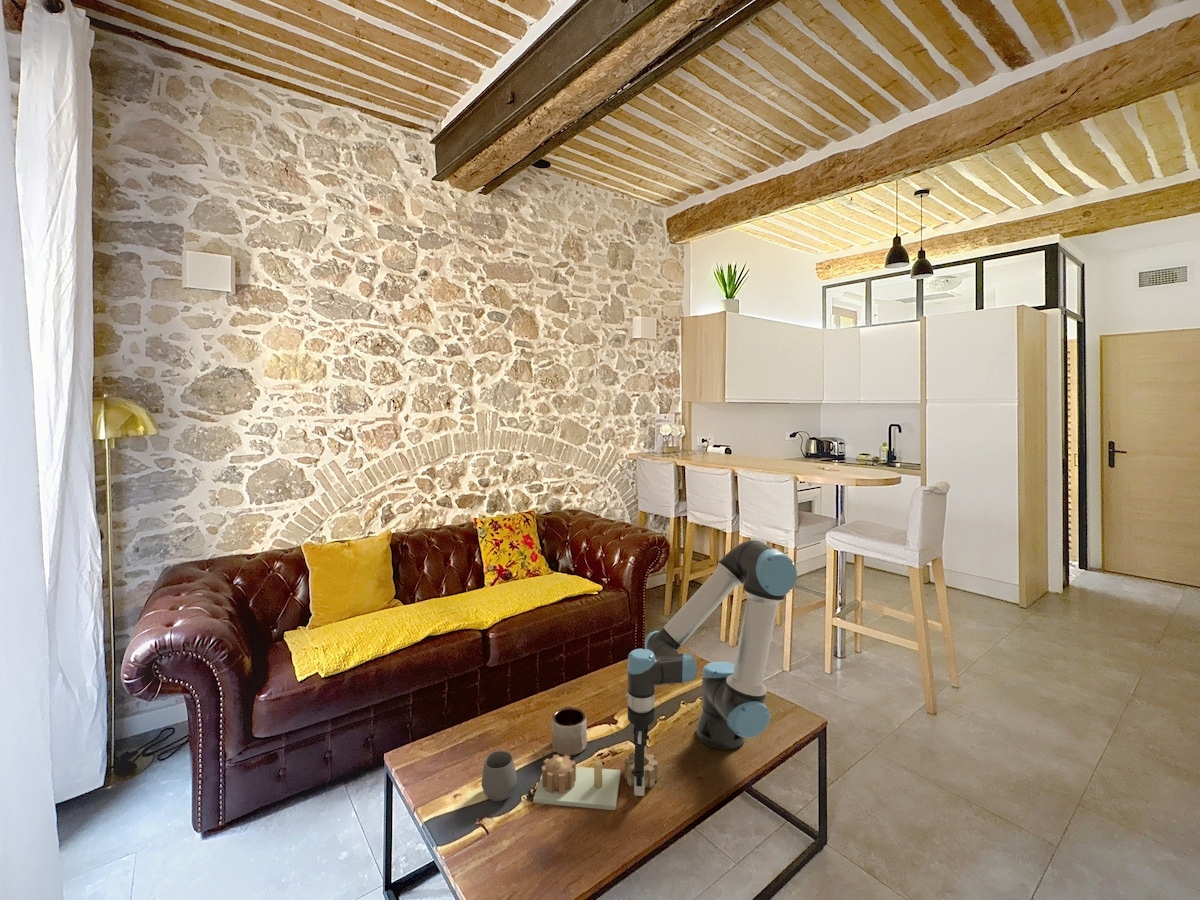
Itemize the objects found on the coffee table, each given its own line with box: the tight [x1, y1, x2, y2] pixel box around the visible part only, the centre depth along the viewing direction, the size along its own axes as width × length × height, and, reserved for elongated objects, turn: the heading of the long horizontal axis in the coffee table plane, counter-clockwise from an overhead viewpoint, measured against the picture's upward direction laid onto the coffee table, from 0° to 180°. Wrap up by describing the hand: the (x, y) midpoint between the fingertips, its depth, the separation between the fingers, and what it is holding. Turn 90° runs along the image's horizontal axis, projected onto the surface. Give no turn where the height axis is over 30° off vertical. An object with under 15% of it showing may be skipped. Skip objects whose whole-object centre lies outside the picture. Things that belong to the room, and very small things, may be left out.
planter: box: [551, 706, 588, 757], centre depth 169 cm, size 11×11×10 cm
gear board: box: [532, 753, 622, 811], centre depth 150 cm, size 22×14×8 cm, turn 82°
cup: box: [481, 750, 517, 802], centre depth 148 cm, size 10×9×10 cm
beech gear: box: [624, 751, 659, 789], centre depth 154 cm, size 9×9×5 cm
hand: (640, 777), depth 154 cm, fingers open, 13 cm apart
